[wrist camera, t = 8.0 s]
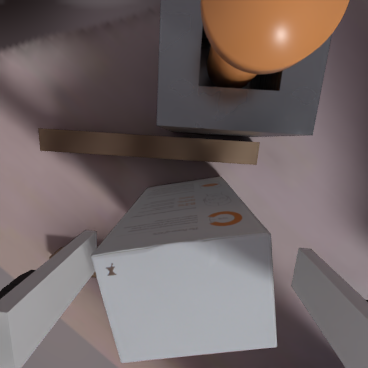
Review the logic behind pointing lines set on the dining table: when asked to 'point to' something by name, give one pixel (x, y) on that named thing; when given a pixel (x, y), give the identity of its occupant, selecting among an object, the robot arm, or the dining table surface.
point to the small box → (187, 274)
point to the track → (148, 147)
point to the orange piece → (264, 35)
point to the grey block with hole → (229, 97)
